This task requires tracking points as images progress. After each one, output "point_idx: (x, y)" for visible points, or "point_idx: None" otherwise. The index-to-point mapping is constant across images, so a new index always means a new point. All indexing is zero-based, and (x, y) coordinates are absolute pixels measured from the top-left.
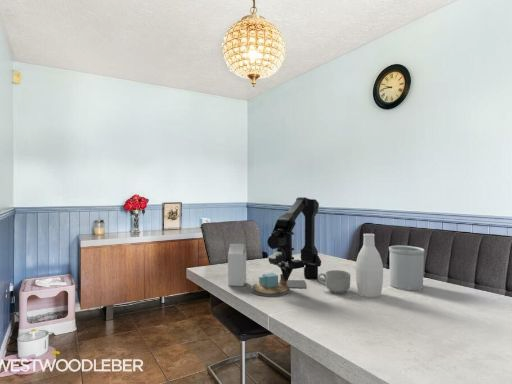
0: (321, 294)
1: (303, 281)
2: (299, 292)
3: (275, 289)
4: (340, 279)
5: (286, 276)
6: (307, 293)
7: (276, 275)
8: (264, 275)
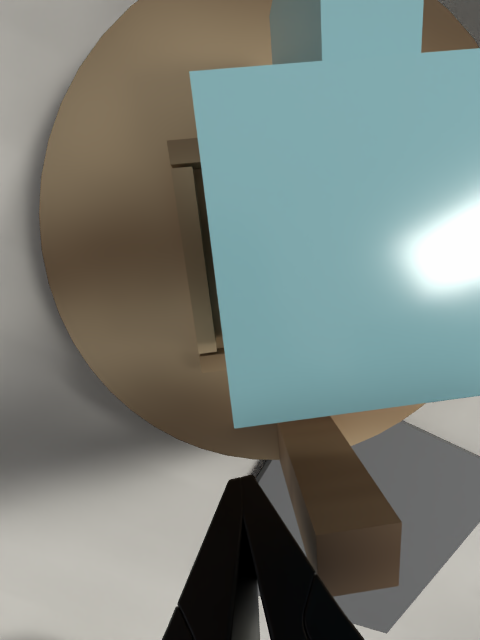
0: (6, 604)
1: (361, 617)
2: (112, 482)
3: (146, 263)
4: None
5: (203, 558)
6: (63, 527)
7: (240, 389)
8: (440, 59)
